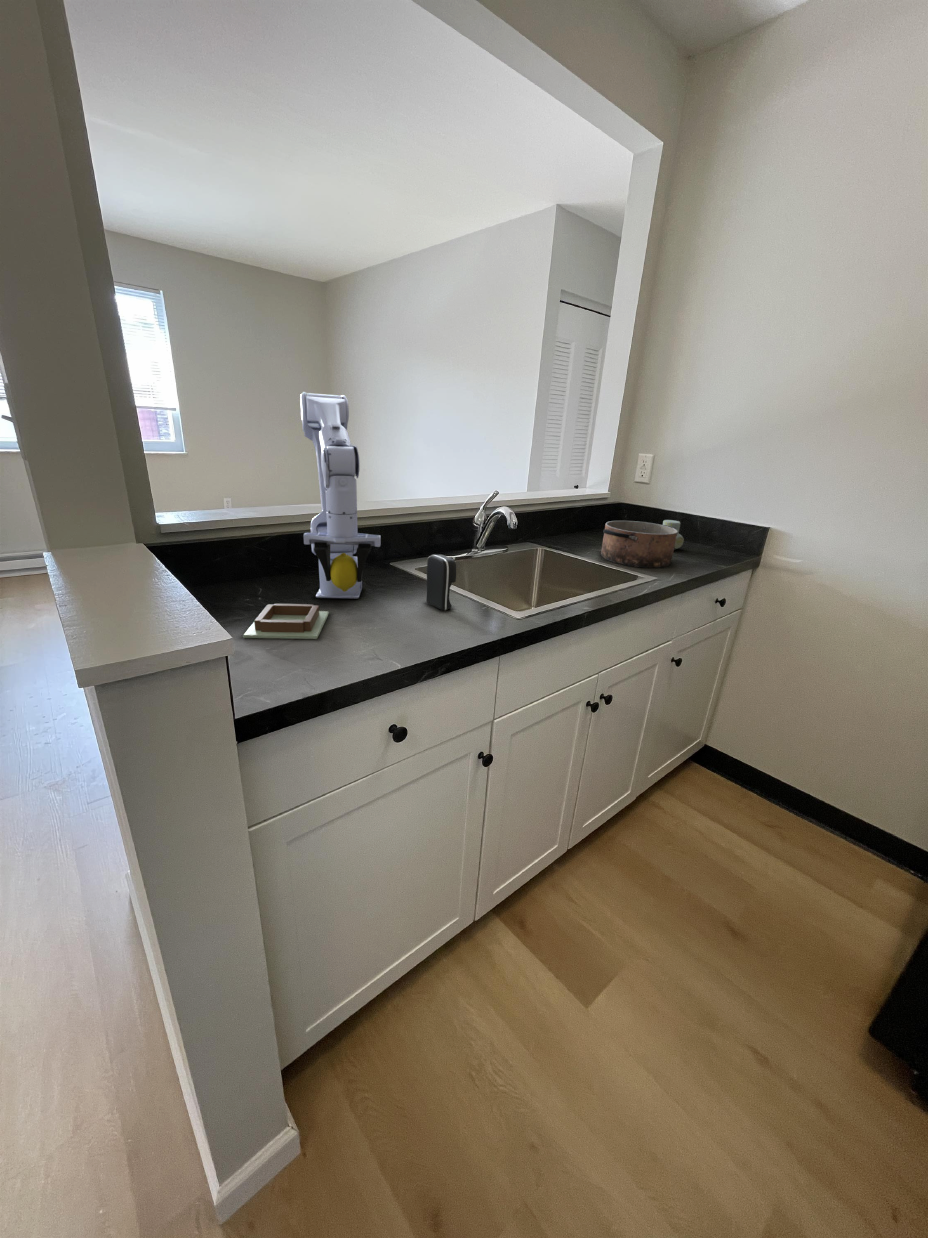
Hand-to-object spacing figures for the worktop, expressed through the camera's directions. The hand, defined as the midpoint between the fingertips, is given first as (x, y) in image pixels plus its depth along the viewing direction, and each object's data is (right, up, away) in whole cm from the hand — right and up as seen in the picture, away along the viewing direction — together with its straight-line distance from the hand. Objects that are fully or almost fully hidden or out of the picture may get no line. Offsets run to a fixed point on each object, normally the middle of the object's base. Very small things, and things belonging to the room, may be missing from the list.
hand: (344, 580), depth 100 cm
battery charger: (+19, -5, +11) cm, 23 cm away
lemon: (0, -2, +1) cm, 3 cm away
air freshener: (+99, +18, +84) cm, 132 cm away
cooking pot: (+81, +12, +65) cm, 104 cm away
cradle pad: (-10, -9, -4) cm, 14 cm away
